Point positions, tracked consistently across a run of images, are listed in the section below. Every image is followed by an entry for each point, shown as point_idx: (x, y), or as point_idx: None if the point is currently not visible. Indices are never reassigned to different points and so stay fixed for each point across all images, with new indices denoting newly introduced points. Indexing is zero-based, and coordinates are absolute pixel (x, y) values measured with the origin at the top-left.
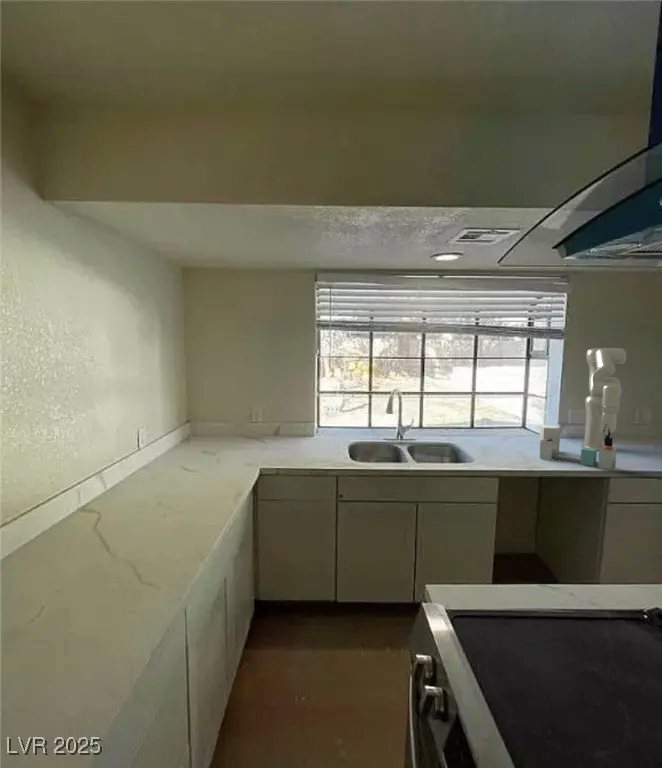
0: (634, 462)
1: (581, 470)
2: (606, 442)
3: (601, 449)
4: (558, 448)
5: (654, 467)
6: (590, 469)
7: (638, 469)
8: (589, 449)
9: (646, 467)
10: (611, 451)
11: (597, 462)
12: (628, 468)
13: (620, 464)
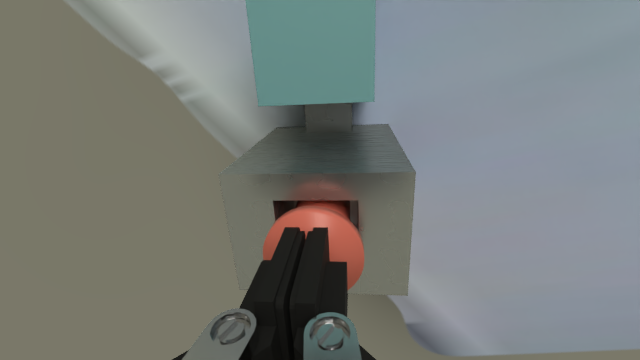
0: (616, 263)
1: (140, 59)
2: (258, 278)
3: (222, 196)
4: None
5: (535, 349)
6: (214, 97)
7: (428, 299)
8: (305, 33)
9: (508, 323)
10: (239, 276)
11: (329, 111)
12: (414, 259)
13: (496, 209)
